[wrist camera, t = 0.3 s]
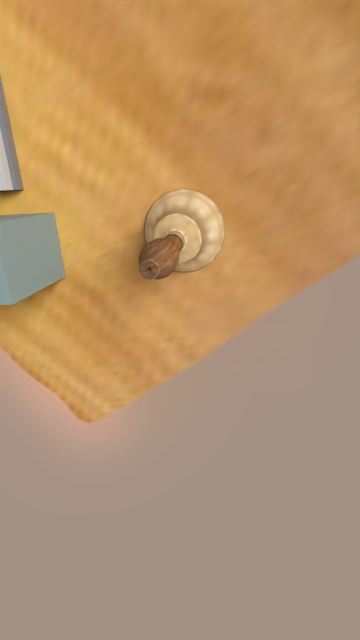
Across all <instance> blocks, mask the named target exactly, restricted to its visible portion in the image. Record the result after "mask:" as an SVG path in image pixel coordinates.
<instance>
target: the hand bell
mask: <svg viewBox="0 0 360 640" xmlns="http://www.w3.org/2000/svg"><path fill="white" fill-rule="evenodd" d="M224 237H225V226H224V220H223V217H222V214H221V212H220V210H219V209H218V207H217V206H216V204H215V203H214V202H213V201H212V200H211V199H210V198H209V197H207V196H206V195H204V194H203V193H201V192H198V191H195V190H191V189H178V190H173V191H170V192H168V193H166V194H165V195H163V196H161V197H160V198H159V199H158V200H157V201H156V202H155V203H154V204H153V205H152V207H151V209H150V210H149V212H148V215H147V217H146V222H145V238H146V242H147V245H145V246H144V248H143V249H142V251H141V253H140V256H139V271H140V273H141V275H142V276H143V277H144V278H146V279H162V278H165V277H167V276H168V275H170V274H171V273H172V272H173V271H174V270H175V271H180V272H191V271H195V270H199V269H201V268H203V267H205V266H206V265H208V264H209V263H210V262H212V261H213V260H214V259H215V258H216V256H217V255H218V253H219V251H220V250H221V247H222V245H223V241H224Z"/></svg>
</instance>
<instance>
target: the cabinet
mask: <svg viewBox="0 0 360 640" xmlns="http://www.w3.org/2000/svg"><path fill="white" fill-rule="evenodd" d="M64 277H65V272H64V266H63V261H62V255H61V249H60V244H59V238H58V232H57V227H56V221H55V216H54V213H39V214H19V215H0V305H13V304H15V303H17V302H19V301H21V300H23V299H25V298H27V297H28V296H30V295H32V294H34V293H36V292H38V291H40V290H41V289H43V288H45V287H47V286H49V285H51V284H53V283H54V282H56V281H58V280H60V279H62V278H64Z"/></svg>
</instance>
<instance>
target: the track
mask: <svg viewBox="0 0 360 640" xmlns="http://www.w3.org/2000/svg"><path fill="white" fill-rule="evenodd" d="M6 190H23V185H22V180H21V175H20V170H19V165H18V160H17V156H16V151H15V146H14V141H13V136H12V131H11V126H10V121H9V116H8V111H7V106H6V102H5V97H4V92H3V87H2V82H1V77H0V191H6Z"/></svg>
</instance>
